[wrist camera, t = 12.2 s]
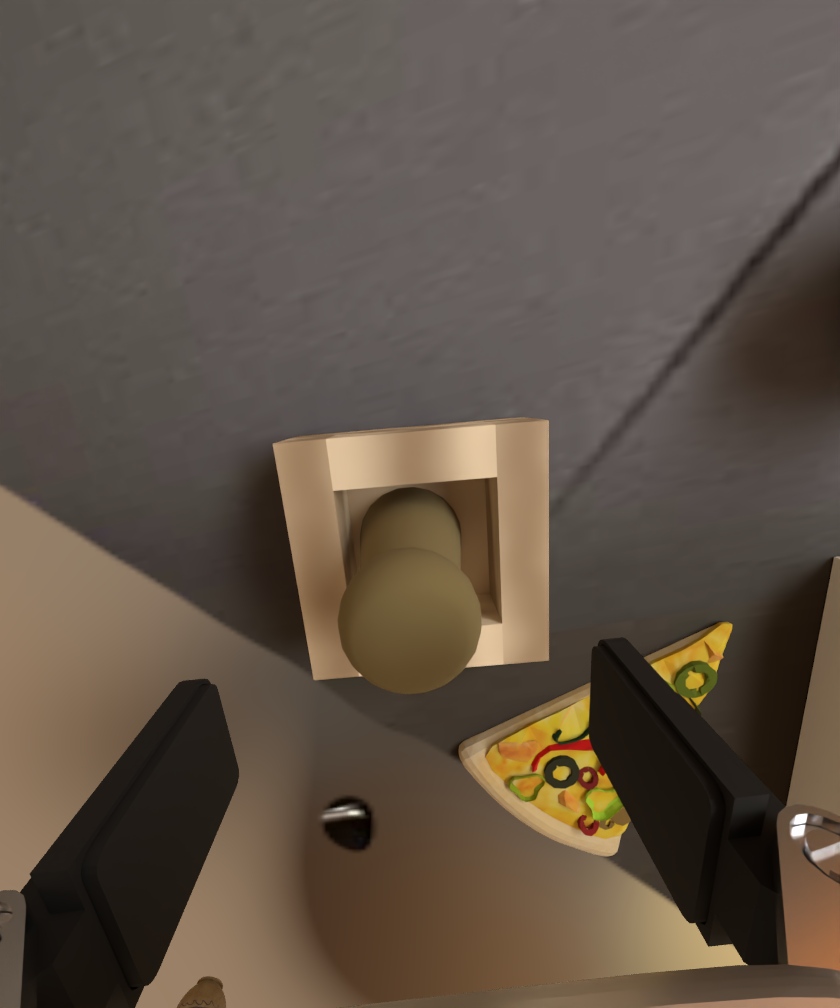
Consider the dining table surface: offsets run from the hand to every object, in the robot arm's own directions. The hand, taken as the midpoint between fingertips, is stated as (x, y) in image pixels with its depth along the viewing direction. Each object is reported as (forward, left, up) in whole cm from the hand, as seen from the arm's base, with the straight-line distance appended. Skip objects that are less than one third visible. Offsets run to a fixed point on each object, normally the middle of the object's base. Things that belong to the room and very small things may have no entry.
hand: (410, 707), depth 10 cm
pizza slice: (+13, -16, -16) cm, 26 cm away
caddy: (0, -1, -15) cm, 15 cm away
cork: (0, 0, -14) cm, 14 cm away
